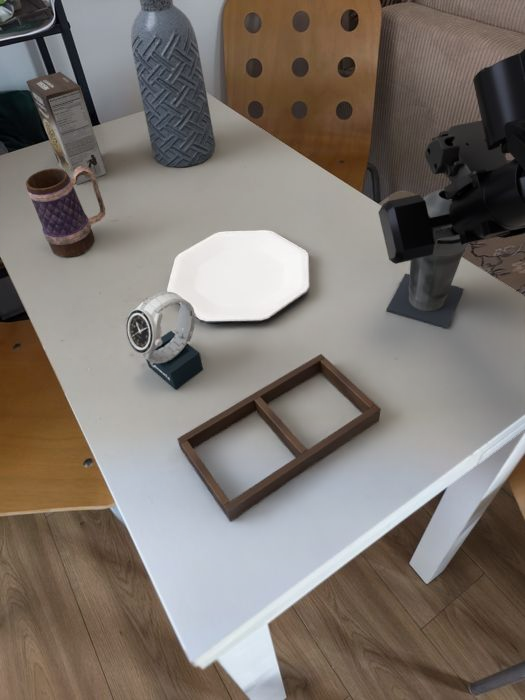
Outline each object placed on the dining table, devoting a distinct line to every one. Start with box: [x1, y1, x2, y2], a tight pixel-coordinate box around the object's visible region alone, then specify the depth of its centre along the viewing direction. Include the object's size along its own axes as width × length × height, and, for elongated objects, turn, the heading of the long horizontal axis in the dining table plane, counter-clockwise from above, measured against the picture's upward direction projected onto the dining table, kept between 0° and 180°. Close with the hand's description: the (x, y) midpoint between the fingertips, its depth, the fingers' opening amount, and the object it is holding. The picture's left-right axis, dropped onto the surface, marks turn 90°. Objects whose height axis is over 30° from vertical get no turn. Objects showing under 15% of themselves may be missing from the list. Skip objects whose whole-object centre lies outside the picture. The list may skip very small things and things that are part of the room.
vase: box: [130, 0, 216, 168], centre depth 91 cm, size 12×12×28 cm
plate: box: [166, 229, 310, 323], centre depth 74 cm, size 20×20×2 cm
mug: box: [25, 165, 106, 258], centre depth 79 cm, size 10×7×12 cm
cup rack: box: [177, 353, 382, 522], centre depth 55 cm, size 10×19×2 cm, turn 125°
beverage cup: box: [409, 188, 469, 311], centre depth 61 cm, size 7×7×20 cm
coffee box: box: [25, 71, 107, 185], centre depth 93 cm, size 9×6×16 cm
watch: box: [125, 291, 204, 391], centre depth 60 cm, size 6×8×11 cm
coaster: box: [385, 273, 464, 330], centre depth 69 cm, size 8×8×1 cm
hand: (434, 232), depth 62 cm, fingers closed on beverage cup, 7 cm apart
